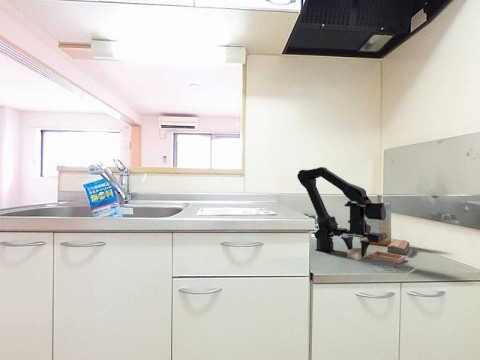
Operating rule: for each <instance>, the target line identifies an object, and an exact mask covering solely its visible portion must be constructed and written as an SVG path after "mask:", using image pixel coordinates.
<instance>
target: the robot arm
mask: <svg viewBox="0 0 480 360" xmlns="http://www.w3.org/2000/svg"><path fill="white" fill-rule="evenodd" d="M319 178H322V179H324V180H325V181H327V182H328V183H330V184H332V185H333V186H335V187H336V188H337V189H339V190H340V191H341V192H342V194H343V195H344V196H345V197H346V198H347V199H348V201H347V202H346V203H345V204H344V207H348V208H349V220H347V223H348V224H349V229H348V228H344V227H338V226H339V223H338V222H337V221H336V217H335V216H331V215H330V214H329V212H328V210H327V208H326V206H325V203H324V201H323V198H322V197H321V196H322V195H320V192H319V190H318V187H317V179H319ZM297 180H298V182H299V183H300V184H301V186H302V187H303V188H304V189H305V190H306V192H307V193H308V194H307V195H308V197H309V199H310V202H311V205H312V207H313V208H314V210H315V213H316V214H315V215H316V216H317V226H318V229H317V230H316V231H315V232H314V234H313V235H314V238H315V239H316V248H315V249H314V251H316V252H320V253H323V254H324V253H325V254H330V253H332V252H335V249H334V241H333V238H334V237H340V239H341V240H342V241H343V242H344V244H345V246H346V248H347V250H349V249H352V248H354V247H353V244H354V243H353V240H354V238H360V237H361V238H364V240H363V241H361V243H360V248H361V254H362V257H364V255H365V253H366V250H367V251H368V248H369V245H371V244H370V243H371V242H375V243H379V242H381V241H384V237H383V235H382V234H380V233H370V230H371V226H369V225H367V224H366V220H365V216H366V217H367V218H368V219H374V220H385V218H386V211H385V207H384V203H385V202H378V203H372V202H373V201H372V200H371V199H370V198H369V196H367V191H366V190H365V188H363V187H361V186H359V185H356V184H353V183H350V182H348V181H346V180H344V179H343V178H341V177H340V176H339V175H337V174H335V173H334V172H332V171H330V170H329V168H327V167H324V166H319V167H317V168H312V169H301V170H299V171H298V173H297ZM362 205H366V206H362ZM365 233H368V234H365Z"/></svg>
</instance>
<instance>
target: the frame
mask: <svg viewBox="0 0 480 360" xmlns="http://www.w3.org/2000/svg"><path fill="white" fill-rule="evenodd" d="M369 253H370V254H369V258H373V259H378V260H383V261H387V262H392V263H397V265H399V264H401V263H402V262H404V261H405V260H406V258H405V256H402V255H396V254H391V253H386V252H382V250H381V251H380V250H375V251H373V252H369ZM378 255H381V256H378ZM383 256H386V257H383ZM388 257H391V258H388ZM393 258H396V259H393Z"/></svg>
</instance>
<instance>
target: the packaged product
mask: <svg viewBox="0 0 480 360" xmlns="http://www.w3.org/2000/svg"><path fill="white" fill-rule="evenodd" d="M381 252H386V253H391V254H396V255H402V256H405V259H409V258H410V256H411V255H412V254H413V252H414V248H411V247H410V242H409V241H407V240H404V239H402V240H401V239H393V240H391V243H390V244H389V245H388V246H386V247H385V249H383V250H381Z"/></svg>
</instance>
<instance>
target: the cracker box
mask: <svg viewBox="0 0 480 360" xmlns="http://www.w3.org/2000/svg"><path fill="white" fill-rule="evenodd" d="M371 202H372V203H379V202H376V201H375V202H373V201H371ZM383 203H384V207H385V211H386V218H385V220H374V219H368V218H367V217H366V216H365V220H366V224H367V225H369V226H371V230H370V233H380V234H382V235H383V237H384V241H381V242H379V243H375V242H371V243H370V244H369V245H377V246H386V247H388V245H389V244H390V243H391V242H392V208H391V207H392V204H391V202H383ZM362 206H366V205H362ZM365 234H368V233H365ZM363 240H364V238H361V237H359V243H360V244H361V241H363Z"/></svg>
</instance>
